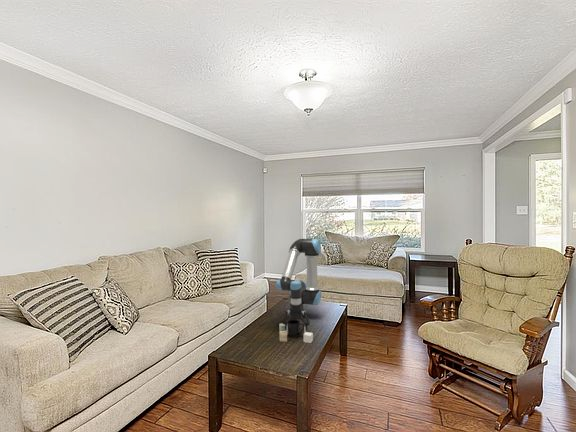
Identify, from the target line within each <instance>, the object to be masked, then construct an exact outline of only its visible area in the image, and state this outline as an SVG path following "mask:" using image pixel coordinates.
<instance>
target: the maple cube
mask: <svg viewBox="0 0 576 432" xmlns="http://www.w3.org/2000/svg"><path fill="white" fill-rule="evenodd" d="M279 342H280V343H281V342H288V335H287V331H280V330H279Z"/></svg>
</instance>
